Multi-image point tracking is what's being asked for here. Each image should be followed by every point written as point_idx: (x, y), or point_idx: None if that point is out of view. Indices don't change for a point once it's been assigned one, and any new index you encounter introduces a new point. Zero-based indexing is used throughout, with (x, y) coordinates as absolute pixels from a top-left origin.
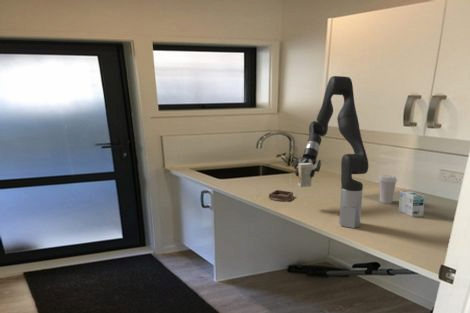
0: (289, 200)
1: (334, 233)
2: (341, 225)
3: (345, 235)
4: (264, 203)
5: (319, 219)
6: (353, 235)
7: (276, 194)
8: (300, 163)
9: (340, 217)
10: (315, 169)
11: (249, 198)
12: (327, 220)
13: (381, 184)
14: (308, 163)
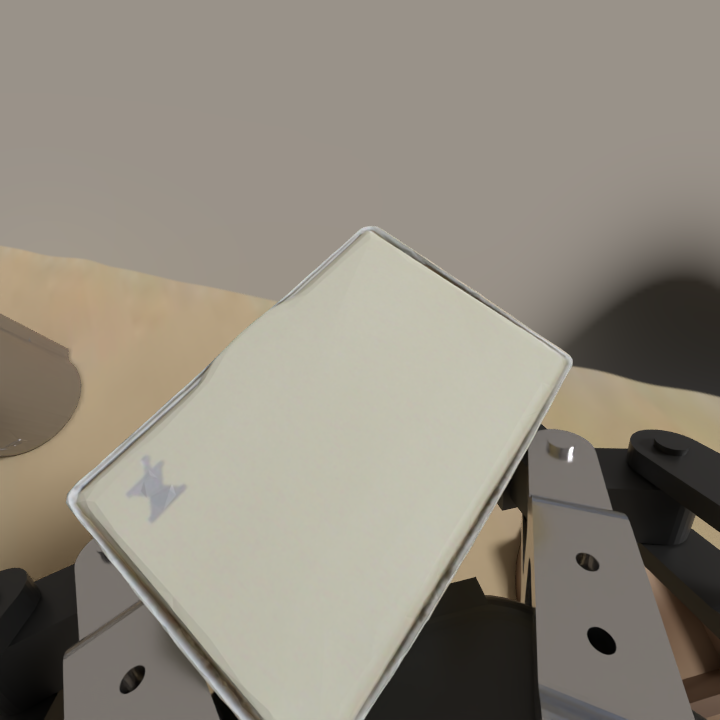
0: (517, 567)
1: (86, 262)
2: (62, 347)
3: (38, 271)
4: (574, 393)
5: (191, 365)
6: (4, 289)
7: (696, 628)
8: (497, 366)
9: (42, 350)
10: (73, 575)
11: (715, 413)
12: (148, 379)
13: None
14: (237, 544)
